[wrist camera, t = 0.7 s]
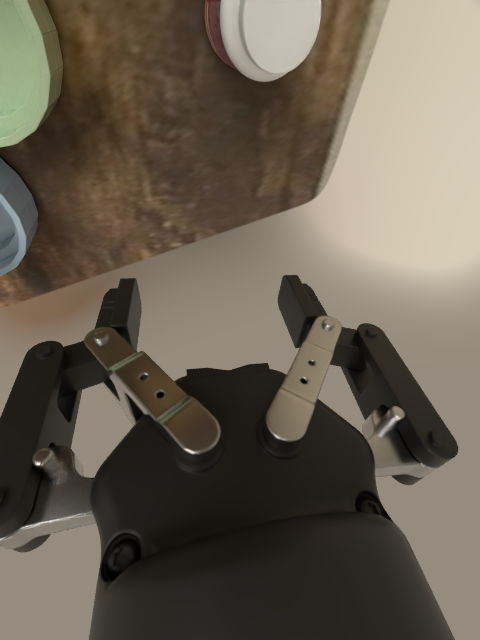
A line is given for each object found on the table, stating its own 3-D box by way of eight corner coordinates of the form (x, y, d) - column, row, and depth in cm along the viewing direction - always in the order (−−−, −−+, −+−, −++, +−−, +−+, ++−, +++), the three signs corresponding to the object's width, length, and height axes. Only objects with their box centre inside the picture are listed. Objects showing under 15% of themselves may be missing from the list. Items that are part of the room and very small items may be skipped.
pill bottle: (257, 80, 27) (297, 109, 19) (194, 45, 24) (213, 63, 17) (290, -13, 23) (356, -21, 16) (219, -67, 20) (258, -107, 13)
